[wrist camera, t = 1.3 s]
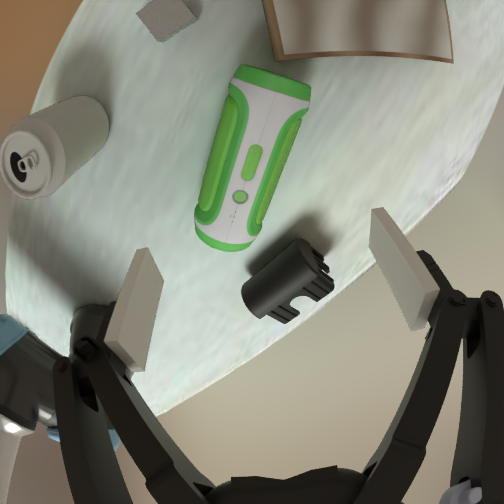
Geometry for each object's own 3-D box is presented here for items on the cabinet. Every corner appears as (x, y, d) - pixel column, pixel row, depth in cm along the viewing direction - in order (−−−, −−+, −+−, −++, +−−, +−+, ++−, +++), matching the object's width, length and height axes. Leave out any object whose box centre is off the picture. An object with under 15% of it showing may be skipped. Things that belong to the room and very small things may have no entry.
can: (51, 105, 24) (-17, 140, 14) (104, 85, 23) (39, 109, 14) (67, 162, 28) (10, 214, 19) (118, 147, 28) (67, 198, 19)
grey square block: (164, 42, 22) (157, 41, 20) (143, 16, 19) (135, 13, 18) (198, 20, 21) (194, 17, 19) (177, -7, 18) (172, -12, 16)
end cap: (292, 226, 36) (301, 261, 31) (327, 254, 39) (339, 290, 34) (239, 272, 40) (240, 310, 35) (276, 294, 43) (281, 331, 38)
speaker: (253, 222, 35) (257, 262, 30) (195, 209, 34) (186, 247, 28) (306, 84, 25) (326, 92, 19) (236, 62, 24) (235, 62, 18)
